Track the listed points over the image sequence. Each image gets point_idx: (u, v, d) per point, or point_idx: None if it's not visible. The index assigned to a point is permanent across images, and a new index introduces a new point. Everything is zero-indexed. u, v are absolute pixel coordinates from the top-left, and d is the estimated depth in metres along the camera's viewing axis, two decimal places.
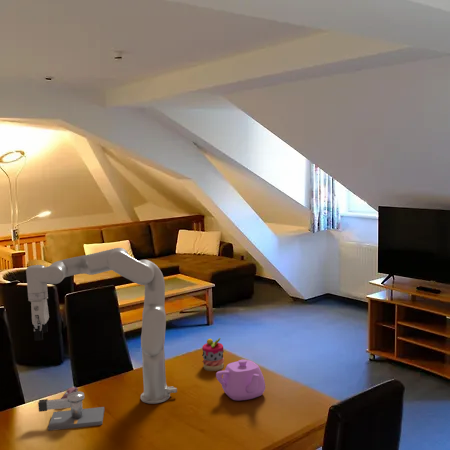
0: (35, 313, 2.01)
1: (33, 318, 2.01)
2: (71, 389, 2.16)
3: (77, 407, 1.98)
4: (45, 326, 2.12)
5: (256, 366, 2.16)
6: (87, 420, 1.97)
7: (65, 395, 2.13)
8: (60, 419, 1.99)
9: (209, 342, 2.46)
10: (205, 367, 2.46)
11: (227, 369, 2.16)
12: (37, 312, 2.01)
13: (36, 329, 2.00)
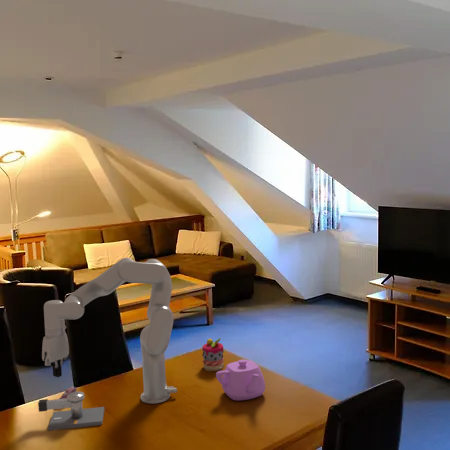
0: None
1: None
2: (70, 389, 2.16)
3: (77, 407, 1.98)
4: None
5: (256, 366, 2.16)
6: (87, 420, 1.97)
7: (64, 395, 2.13)
8: (60, 419, 1.99)
9: (209, 342, 2.46)
10: (205, 367, 2.46)
11: (227, 369, 2.16)
12: None
13: None
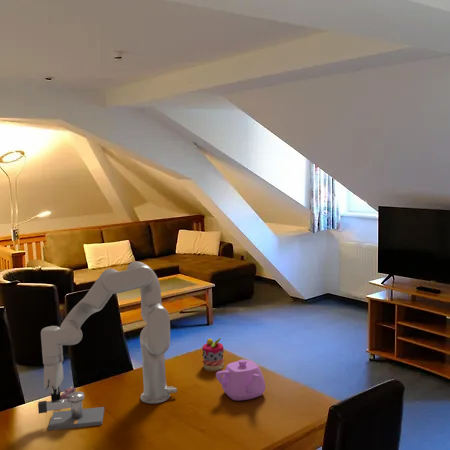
0: None
1: None
2: (69, 389, 2.16)
3: (78, 407, 1.98)
4: None
5: (256, 366, 2.16)
6: (87, 420, 1.97)
7: (63, 395, 2.13)
8: (60, 419, 1.99)
9: (209, 342, 2.46)
10: (205, 367, 2.46)
11: (227, 369, 2.16)
12: None
13: None
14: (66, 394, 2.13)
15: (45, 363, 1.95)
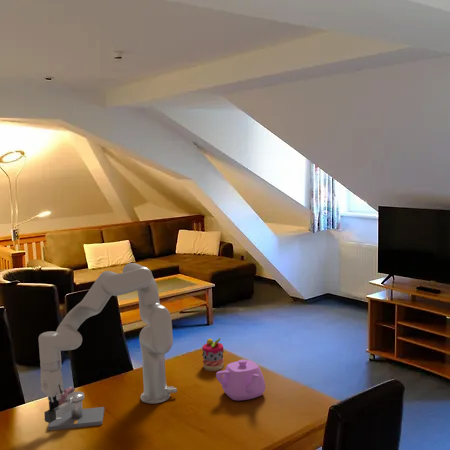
0: None
1: None
2: (68, 389, 2.16)
3: (81, 405, 1.99)
4: None
5: (256, 366, 2.16)
6: (87, 420, 1.97)
7: (62, 395, 2.13)
8: (60, 419, 1.99)
9: (209, 342, 2.46)
10: (205, 367, 2.46)
11: (227, 369, 2.16)
12: None
13: None
14: (65, 394, 2.13)
15: (50, 370, 1.89)
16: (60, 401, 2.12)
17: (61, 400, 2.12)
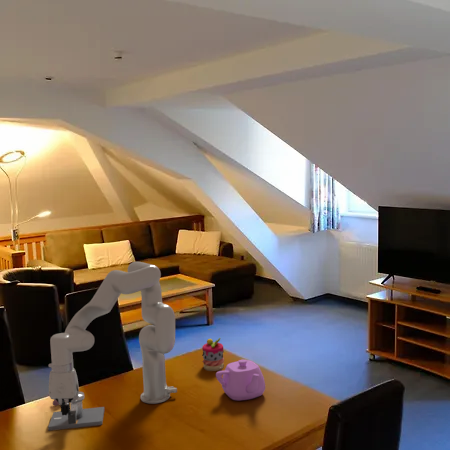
0: None
1: None
2: None
3: None
4: None
5: (256, 366, 2.16)
6: (87, 420, 1.97)
7: None
8: (60, 419, 1.99)
9: (209, 342, 2.46)
10: (205, 367, 2.46)
11: (227, 369, 2.16)
12: None
13: None
14: None
15: (69, 371, 1.87)
16: None
17: None
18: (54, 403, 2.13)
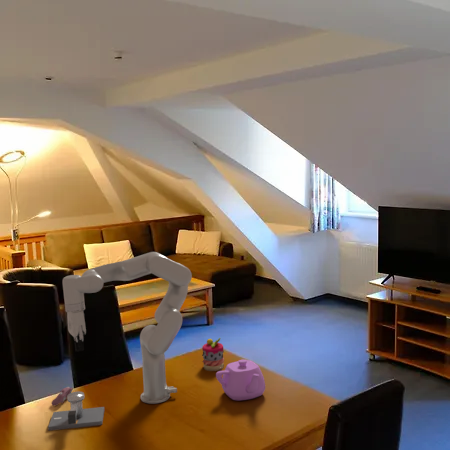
0: None
1: None
2: (66, 389, 2.16)
3: None
4: None
5: (256, 366, 2.16)
6: (87, 420, 1.97)
7: (60, 395, 2.13)
8: (60, 419, 1.99)
9: (209, 342, 2.46)
10: (205, 367, 2.46)
11: (227, 369, 2.16)
12: None
13: None
14: (63, 394, 2.13)
15: (72, 311, 1.97)
16: (58, 401, 2.13)
17: (59, 400, 2.12)
18: (53, 403, 2.13)
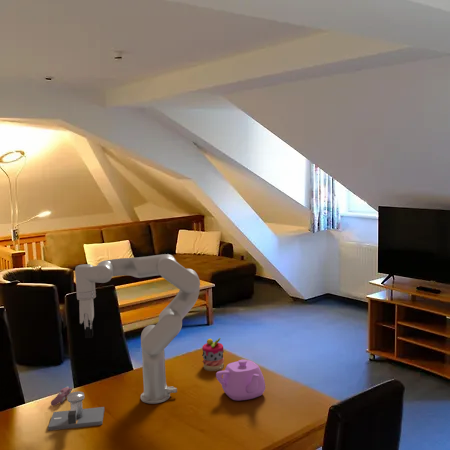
0: None
1: None
2: (65, 389, 2.16)
3: None
4: None
5: (256, 366, 2.16)
6: (87, 420, 1.97)
7: (59, 395, 2.13)
8: (60, 419, 1.99)
9: (209, 342, 2.46)
10: (205, 367, 2.46)
11: (227, 369, 2.16)
12: None
13: None
14: (62, 394, 2.13)
15: (80, 298, 2.05)
16: (57, 401, 2.13)
17: (58, 400, 2.12)
18: (52, 403, 2.13)
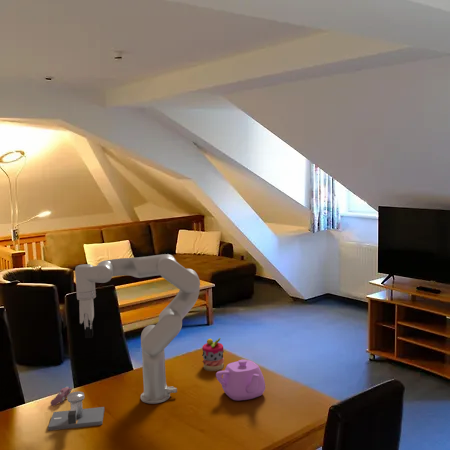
0: None
1: None
2: (65, 389, 2.16)
3: None
4: None
5: (256, 366, 2.16)
6: (87, 420, 1.97)
7: (59, 395, 2.13)
8: (60, 419, 1.99)
9: (209, 342, 2.46)
10: (205, 367, 2.46)
11: (227, 369, 2.16)
12: None
13: None
14: (62, 394, 2.13)
15: (80, 298, 2.05)
16: (57, 401, 2.13)
17: (58, 400, 2.12)
18: (52, 403, 2.13)
